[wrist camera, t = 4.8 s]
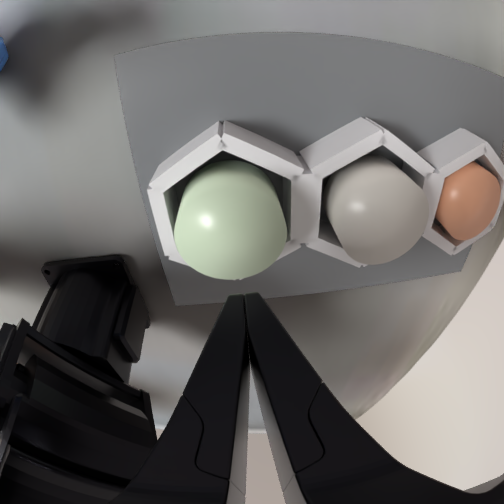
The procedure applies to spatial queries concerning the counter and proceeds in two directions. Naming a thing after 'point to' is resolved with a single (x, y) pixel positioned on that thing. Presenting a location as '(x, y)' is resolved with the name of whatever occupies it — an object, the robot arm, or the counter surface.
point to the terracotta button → (468, 201)
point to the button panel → (305, 142)
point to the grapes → (3, 54)
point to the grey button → (375, 209)
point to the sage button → (230, 221)
